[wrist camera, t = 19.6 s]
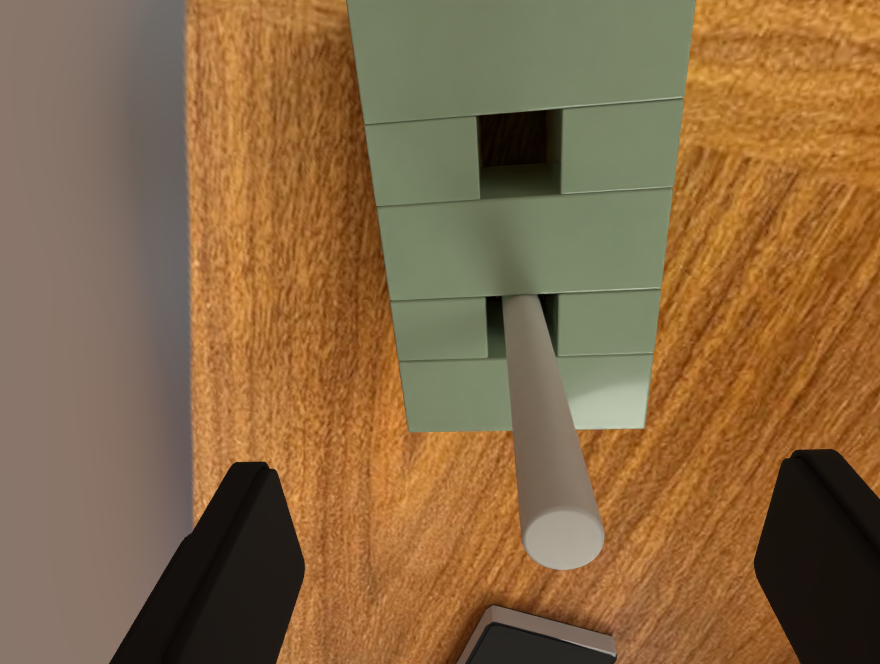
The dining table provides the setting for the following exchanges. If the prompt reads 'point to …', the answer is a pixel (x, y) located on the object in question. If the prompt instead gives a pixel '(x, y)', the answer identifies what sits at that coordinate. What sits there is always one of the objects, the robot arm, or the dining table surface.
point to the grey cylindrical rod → (546, 447)
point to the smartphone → (534, 641)
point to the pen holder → (523, 193)
